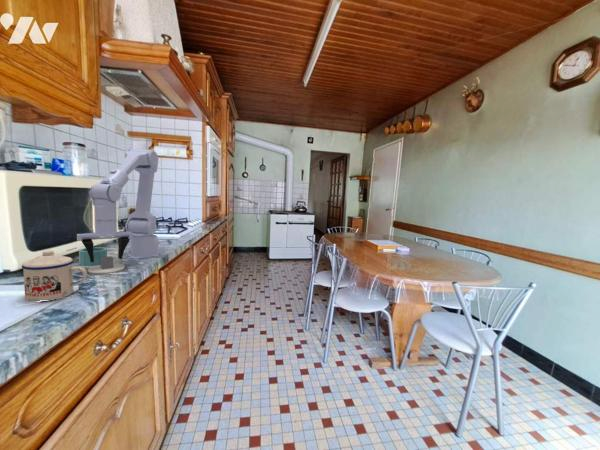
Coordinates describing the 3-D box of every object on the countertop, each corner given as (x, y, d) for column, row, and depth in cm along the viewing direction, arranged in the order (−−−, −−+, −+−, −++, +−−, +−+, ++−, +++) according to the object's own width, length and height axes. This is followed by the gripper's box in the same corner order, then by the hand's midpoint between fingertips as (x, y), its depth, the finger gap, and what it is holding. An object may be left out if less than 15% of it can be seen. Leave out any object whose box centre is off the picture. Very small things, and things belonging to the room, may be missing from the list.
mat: (121, 264, 92) (121, 263, 92) (129, 271, 85) (129, 270, 85) (84, 269, 84) (84, 267, 84) (89, 277, 77) (89, 276, 77)
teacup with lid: (14, 305, 57) (10, 256, 56) (36, 290, 66) (34, 247, 64) (80, 300, 62) (78, 254, 61) (93, 287, 70) (92, 246, 69)
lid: (121, 263, 92) (120, 253, 91) (128, 270, 85) (128, 258, 85) (85, 268, 84) (85, 256, 84) (90, 275, 78) (89, 263, 77)
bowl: (104, 260, 96) (104, 246, 95) (108, 264, 91) (108, 250, 90) (78, 263, 90) (78, 248, 90) (81, 268, 85) (80, 252, 85)
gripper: (78, 222, 75) (79, 265, 76) (134, 220, 85) (134, 259, 87) (75, 219, 79) (76, 260, 81) (129, 218, 90) (129, 255, 92)
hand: (106, 259), depth 84 cm, fingers open, 7 cm apart
